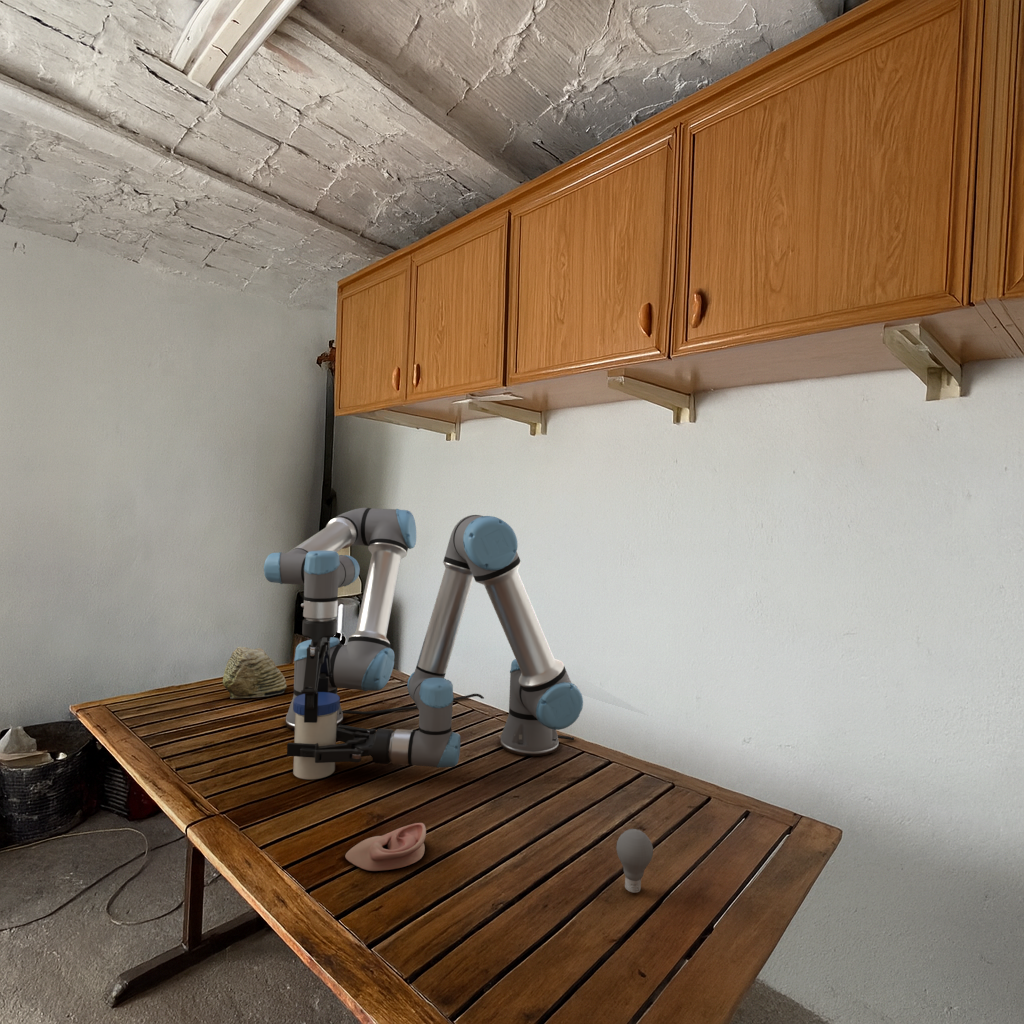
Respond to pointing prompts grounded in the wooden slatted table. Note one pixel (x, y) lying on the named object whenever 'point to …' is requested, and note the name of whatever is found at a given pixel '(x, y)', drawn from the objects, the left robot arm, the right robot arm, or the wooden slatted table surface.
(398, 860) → the anatomical model
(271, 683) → the fossil
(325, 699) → the lid
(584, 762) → the wooden slatted table surface
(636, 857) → the light bulb
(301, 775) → the jar
